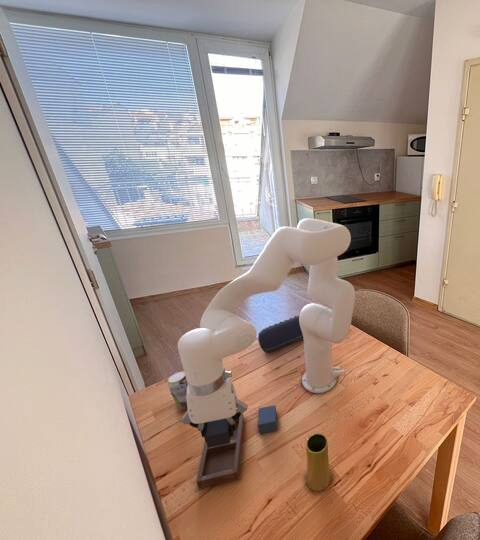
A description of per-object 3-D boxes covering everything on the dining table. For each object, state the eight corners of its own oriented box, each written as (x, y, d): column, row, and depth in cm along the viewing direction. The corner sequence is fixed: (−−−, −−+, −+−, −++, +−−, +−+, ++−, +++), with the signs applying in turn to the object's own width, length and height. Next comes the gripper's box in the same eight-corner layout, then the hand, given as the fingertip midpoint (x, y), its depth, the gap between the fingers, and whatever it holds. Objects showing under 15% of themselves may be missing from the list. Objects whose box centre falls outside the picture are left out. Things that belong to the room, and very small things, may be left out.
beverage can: (190, 414, 94) (181, 386, 89) (170, 409, 95) (160, 382, 90) (203, 398, 99) (196, 371, 94) (184, 394, 100) (176, 367, 95)
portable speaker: (307, 325, 138) (306, 307, 134) (319, 336, 132) (318, 317, 127) (255, 347, 124) (252, 327, 120) (265, 360, 117) (262, 339, 113)
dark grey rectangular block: (232, 422, 77) (230, 411, 76) (229, 443, 72) (227, 432, 71) (212, 426, 76) (209, 415, 75) (207, 448, 71) (204, 437, 69)
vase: (307, 467, 80) (305, 431, 74) (330, 465, 80) (329, 430, 74) (306, 492, 74) (303, 456, 68) (330, 490, 75) (329, 454, 69)
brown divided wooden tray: (244, 420, 92) (243, 413, 91) (238, 479, 76) (236, 472, 75) (211, 426, 90) (209, 419, 88) (198, 489, 74) (196, 481, 73)
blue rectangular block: (276, 413, 95) (275, 404, 93) (276, 430, 89) (275, 421, 88) (260, 417, 93) (258, 408, 92) (259, 434, 88) (257, 424, 86)
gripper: (247, 362, 72) (256, 414, 80) (170, 374, 68) (186, 428, 75) (245, 385, 66) (255, 439, 73) (159, 400, 61) (178, 456, 69)
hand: (220, 433), depth 74 cm, fingers closed on dark grey rectangular block, 5 cm apart
